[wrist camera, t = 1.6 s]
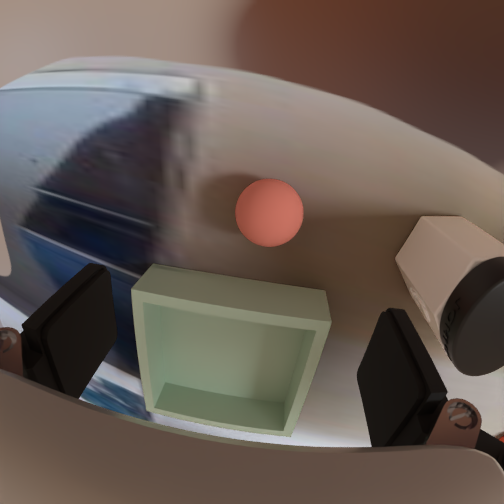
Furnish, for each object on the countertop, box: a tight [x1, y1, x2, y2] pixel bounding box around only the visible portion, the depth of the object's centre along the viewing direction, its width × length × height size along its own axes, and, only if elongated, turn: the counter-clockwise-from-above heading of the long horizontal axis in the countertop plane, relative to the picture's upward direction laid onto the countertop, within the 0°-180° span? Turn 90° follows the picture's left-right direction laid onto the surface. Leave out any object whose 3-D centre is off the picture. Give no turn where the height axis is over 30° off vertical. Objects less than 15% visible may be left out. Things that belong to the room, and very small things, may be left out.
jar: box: [395, 216, 504, 376], centre depth 20 cm, size 9×8×12 cm
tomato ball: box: [235, 179, 303, 247], centre depth 23 cm, size 5×5×5 cm
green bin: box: [131, 263, 332, 437], centre depth 29 cm, size 16×16×5 cm
